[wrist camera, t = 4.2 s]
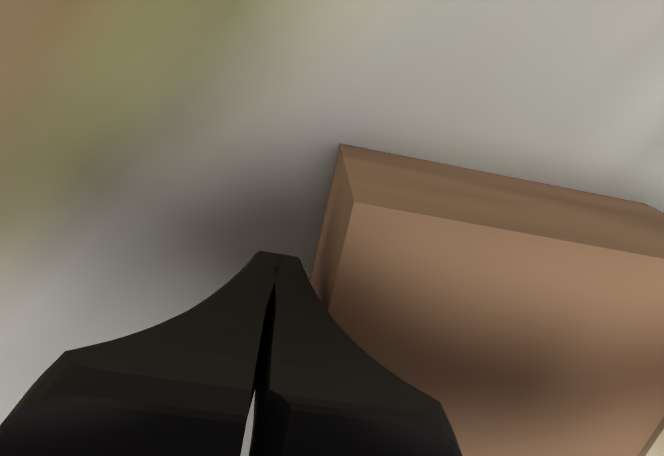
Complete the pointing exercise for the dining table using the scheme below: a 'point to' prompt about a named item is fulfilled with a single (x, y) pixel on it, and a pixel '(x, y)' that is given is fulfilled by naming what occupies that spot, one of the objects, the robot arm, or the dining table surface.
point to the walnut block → (502, 302)
